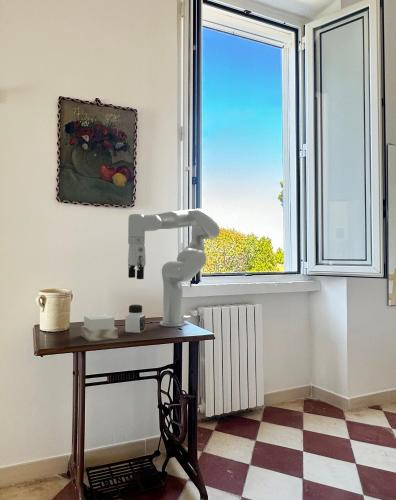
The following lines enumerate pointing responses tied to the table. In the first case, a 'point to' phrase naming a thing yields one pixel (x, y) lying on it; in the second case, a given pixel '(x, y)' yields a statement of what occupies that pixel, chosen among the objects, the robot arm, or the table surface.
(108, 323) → the tower top block
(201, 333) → the table surface
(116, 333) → the tower base block
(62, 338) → the table surface
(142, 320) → the medicine bottle
